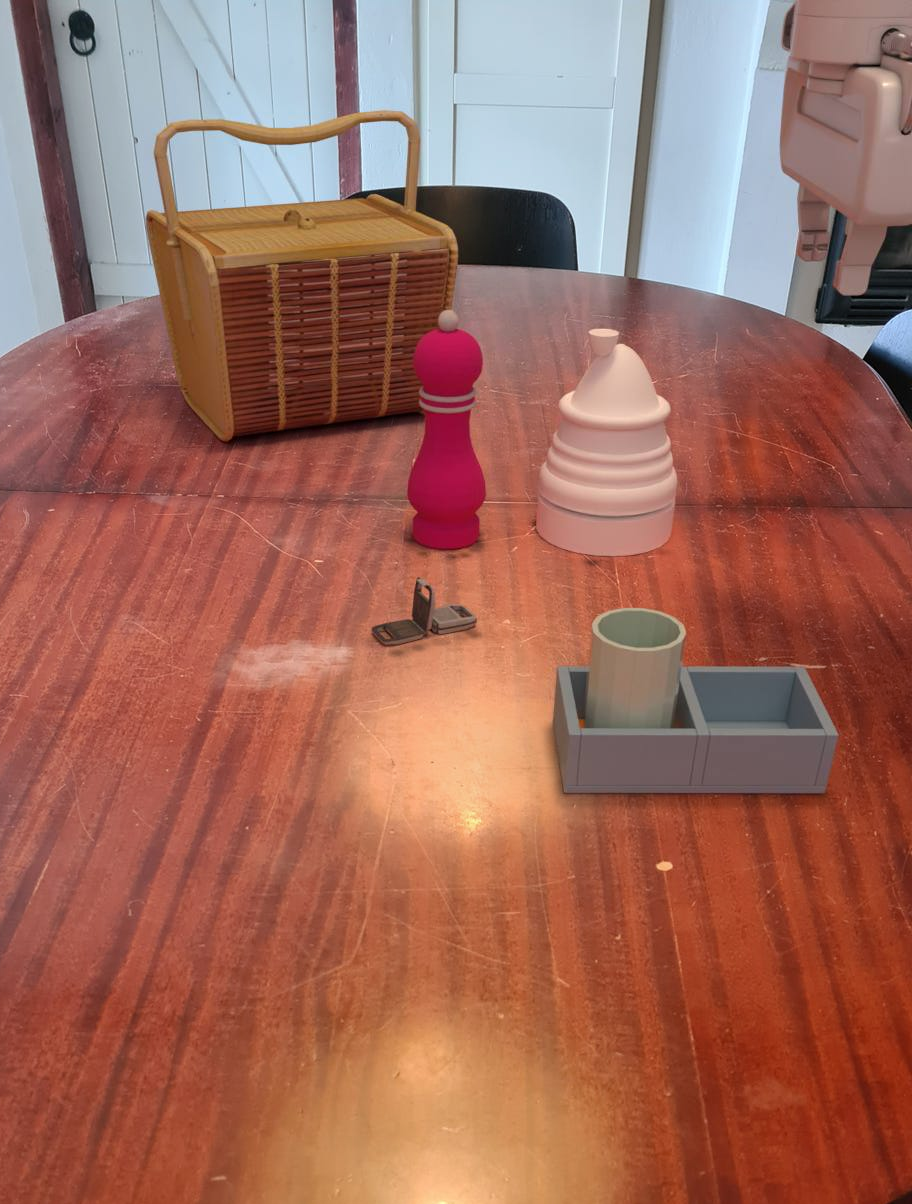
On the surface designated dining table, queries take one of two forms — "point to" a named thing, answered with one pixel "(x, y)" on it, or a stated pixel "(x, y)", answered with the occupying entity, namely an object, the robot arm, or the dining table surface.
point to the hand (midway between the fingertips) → (828, 275)
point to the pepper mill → (447, 439)
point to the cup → (633, 669)
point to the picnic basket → (299, 295)
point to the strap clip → (426, 618)
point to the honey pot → (609, 460)
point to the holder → (703, 736)
